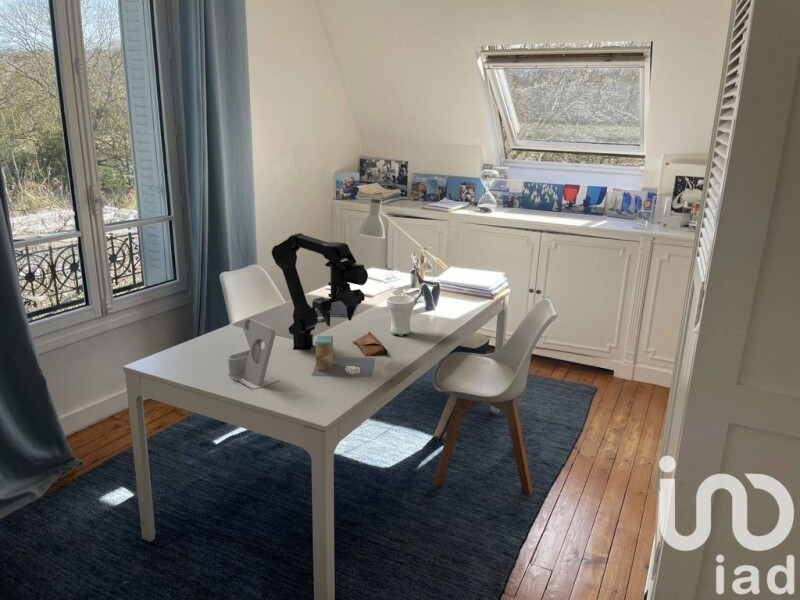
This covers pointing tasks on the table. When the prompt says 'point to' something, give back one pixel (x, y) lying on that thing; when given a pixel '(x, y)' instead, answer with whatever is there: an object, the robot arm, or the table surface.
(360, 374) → the rubber mat
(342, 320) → the table surface
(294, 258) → the robot arm
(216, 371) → the table surface
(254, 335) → the phone holder
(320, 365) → the oak block
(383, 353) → the sunglasses case
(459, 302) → the table surface
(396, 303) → the cup
